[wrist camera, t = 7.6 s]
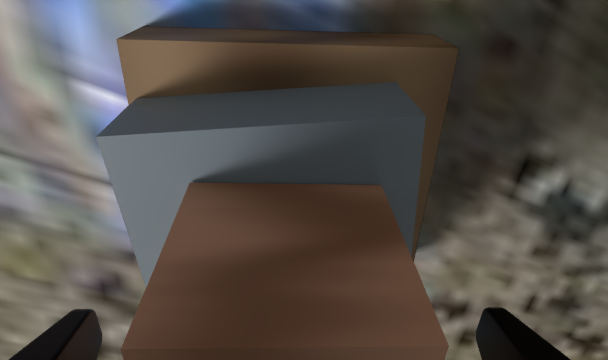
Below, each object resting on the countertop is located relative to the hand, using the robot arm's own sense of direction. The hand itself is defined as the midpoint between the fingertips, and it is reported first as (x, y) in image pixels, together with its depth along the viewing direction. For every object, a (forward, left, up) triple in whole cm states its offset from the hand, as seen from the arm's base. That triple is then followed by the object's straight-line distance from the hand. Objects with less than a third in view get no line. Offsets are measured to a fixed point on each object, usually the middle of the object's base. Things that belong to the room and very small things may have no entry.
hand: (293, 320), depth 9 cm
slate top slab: (+1, 0, -6) cm, 6 cm away
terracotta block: (0, 0, -3) cm, 3 cm away
